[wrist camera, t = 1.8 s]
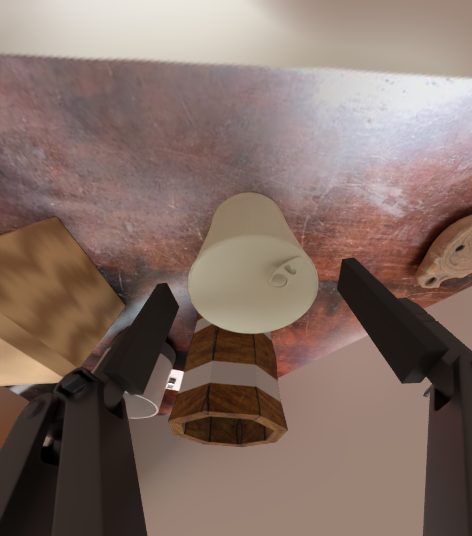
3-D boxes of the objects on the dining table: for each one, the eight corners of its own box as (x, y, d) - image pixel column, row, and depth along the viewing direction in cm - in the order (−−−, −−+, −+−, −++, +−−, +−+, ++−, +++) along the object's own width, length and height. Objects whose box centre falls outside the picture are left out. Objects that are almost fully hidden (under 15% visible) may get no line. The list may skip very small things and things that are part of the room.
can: (300, 230, 21) (350, 300, 12) (247, 273, 25) (250, 352, 15) (248, 172, 18) (254, 199, 8) (196, 232, 22) (158, 299, 12)
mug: (183, 303, 29) (140, 415, 17) (262, 287, 27) (278, 406, 14) (221, 361, 40) (211, 457, 27) (279, 354, 37) (298, 456, 25)
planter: (117, 319, 32) (72, 381, 24) (184, 338, 35) (165, 399, 26) (114, 352, 39) (78, 410, 30) (170, 366, 42) (151, 422, 33)
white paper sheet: (200, 375, 44) (198, 381, 43) (188, 392, 50) (187, 399, 49) (152, 364, 42) (149, 371, 40) (146, 384, 48) (144, 390, 47)
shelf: (-54, 239, 24) (-264, 303, 14) (56, 216, 21) (-103, 273, 12) (40, 316, 33) (-48, 388, 23) (126, 306, 30) (69, 382, 20)
